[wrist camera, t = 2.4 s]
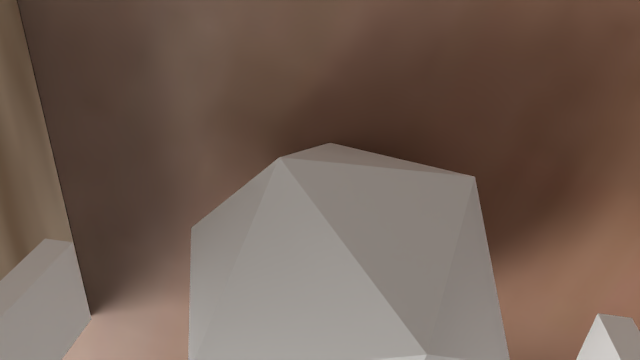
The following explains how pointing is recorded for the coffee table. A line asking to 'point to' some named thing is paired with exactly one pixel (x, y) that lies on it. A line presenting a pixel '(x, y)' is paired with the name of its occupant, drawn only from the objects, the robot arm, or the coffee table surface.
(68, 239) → the chevron patterned box
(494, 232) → the coffee table surface
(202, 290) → the die
